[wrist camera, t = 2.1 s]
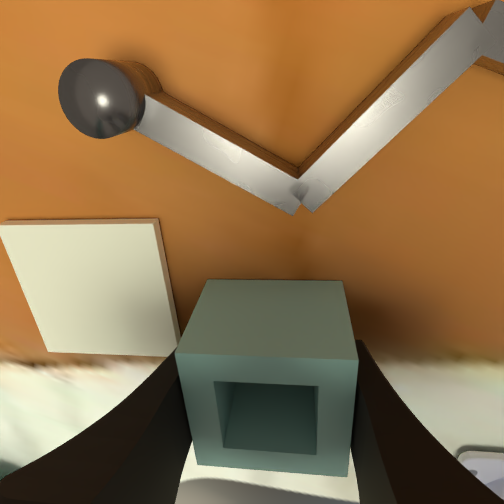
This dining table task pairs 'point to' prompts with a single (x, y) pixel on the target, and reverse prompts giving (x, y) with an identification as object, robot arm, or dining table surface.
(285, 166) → the grey zigzag bar
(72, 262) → the coaster
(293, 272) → the dining table surface
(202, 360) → the hollow square tube
